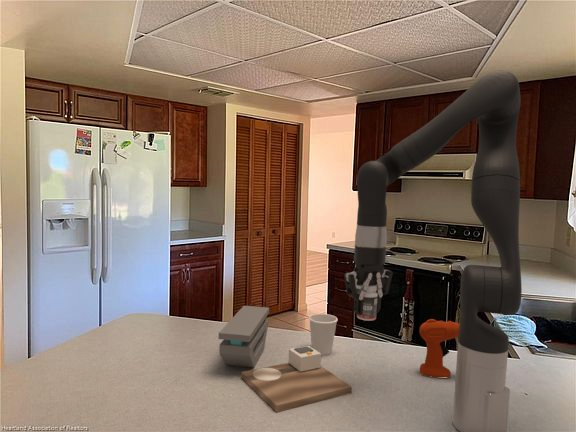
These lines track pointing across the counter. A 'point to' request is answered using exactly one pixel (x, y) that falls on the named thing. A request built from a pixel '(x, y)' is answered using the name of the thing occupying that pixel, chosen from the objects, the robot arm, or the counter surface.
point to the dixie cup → (322, 332)
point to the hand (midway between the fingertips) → (366, 312)
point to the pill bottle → (369, 304)
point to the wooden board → (294, 385)
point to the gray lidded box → (244, 337)
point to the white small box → (304, 358)
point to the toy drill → (437, 346)
